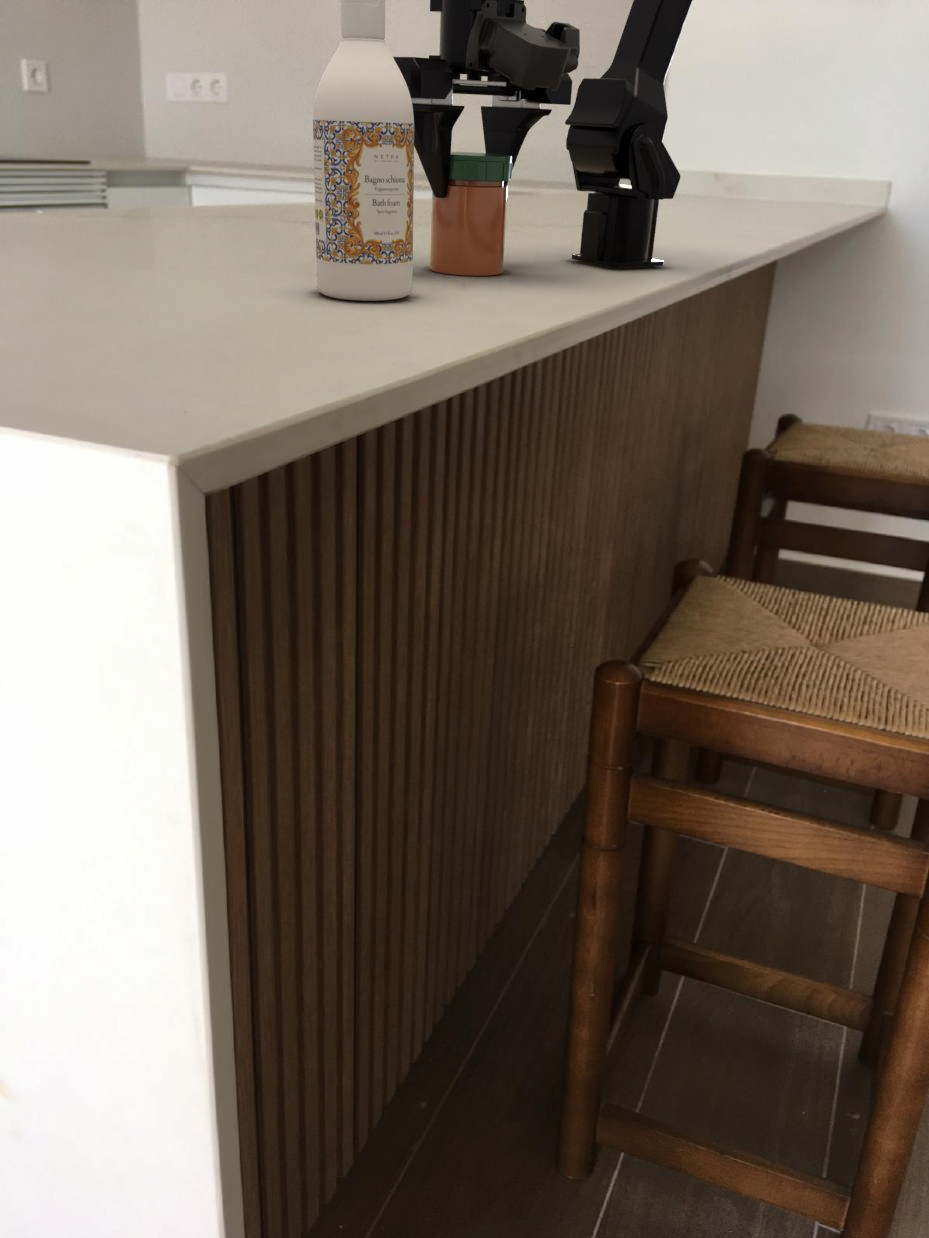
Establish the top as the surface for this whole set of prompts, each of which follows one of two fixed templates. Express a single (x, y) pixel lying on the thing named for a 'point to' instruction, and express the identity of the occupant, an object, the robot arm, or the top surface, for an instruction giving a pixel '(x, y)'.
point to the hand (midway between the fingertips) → (469, 196)
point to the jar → (469, 229)
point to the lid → (480, 167)
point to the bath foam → (363, 164)
